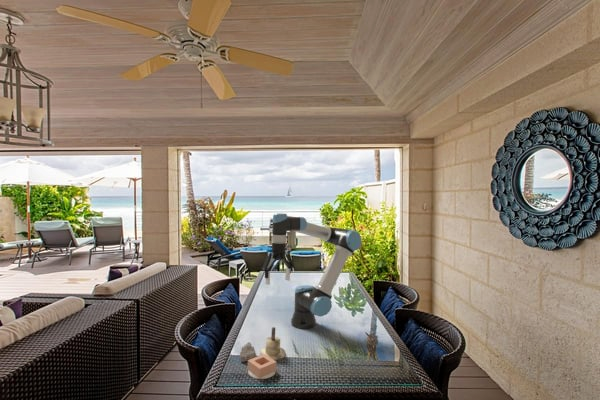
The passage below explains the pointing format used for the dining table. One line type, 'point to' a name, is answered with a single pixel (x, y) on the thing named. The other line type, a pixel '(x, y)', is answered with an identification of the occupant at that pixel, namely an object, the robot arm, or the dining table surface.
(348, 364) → the dining table surface
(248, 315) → the dining table surface
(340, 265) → the robot arm
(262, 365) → the link
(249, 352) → the stone
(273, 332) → the stand
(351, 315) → the dining table surface
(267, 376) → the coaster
